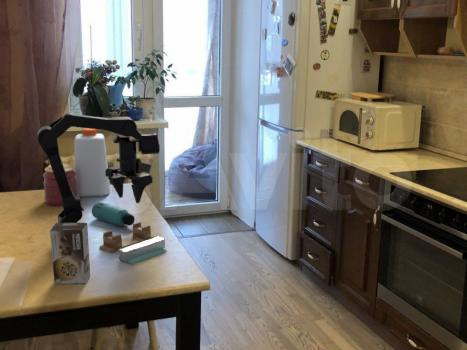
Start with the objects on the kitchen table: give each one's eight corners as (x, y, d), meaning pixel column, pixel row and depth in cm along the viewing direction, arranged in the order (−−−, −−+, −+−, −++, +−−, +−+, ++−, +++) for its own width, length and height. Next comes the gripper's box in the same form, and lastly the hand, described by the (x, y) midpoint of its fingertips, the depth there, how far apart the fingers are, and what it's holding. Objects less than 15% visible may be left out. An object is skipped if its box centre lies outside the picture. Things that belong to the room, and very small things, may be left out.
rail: (125, 261, 172) (124, 252, 171) (119, 258, 174) (118, 249, 173) (164, 247, 184) (164, 238, 183) (158, 245, 186) (158, 236, 185)
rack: (110, 253, 179) (110, 238, 178) (99, 248, 183) (99, 233, 182) (154, 239, 192) (154, 224, 191) (143, 234, 196) (142, 220, 195)
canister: (44, 198, 236) (42, 157, 232) (77, 196, 240) (74, 155, 235) (44, 207, 224) (41, 164, 220) (78, 205, 228) (76, 162, 223)
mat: (132, 264, 172) (132, 262, 171) (118, 257, 176) (118, 256, 176) (166, 251, 182) (166, 250, 182) (152, 245, 186) (152, 244, 186)
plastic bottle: (109, 196, 240) (107, 131, 233) (73, 198, 237) (69, 132, 230) (110, 187, 255) (107, 125, 248) (75, 188, 252) (72, 126, 245)
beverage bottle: (96, 220, 214) (132, 232, 202) (85, 212, 209) (121, 224, 197) (104, 205, 216) (140, 216, 204) (93, 197, 211) (130, 208, 199)
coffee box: (91, 274, 164) (88, 222, 160) (86, 284, 158) (83, 229, 154) (59, 274, 163) (55, 221, 159) (53, 284, 157) (49, 229, 153)
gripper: (164, 156, 187) (165, 200, 191) (129, 147, 199) (131, 190, 203) (138, 161, 179) (139, 208, 183) (103, 152, 191) (105, 196, 195)
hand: (129, 200), depth 191 cm, fingers open, 9 cm apart
